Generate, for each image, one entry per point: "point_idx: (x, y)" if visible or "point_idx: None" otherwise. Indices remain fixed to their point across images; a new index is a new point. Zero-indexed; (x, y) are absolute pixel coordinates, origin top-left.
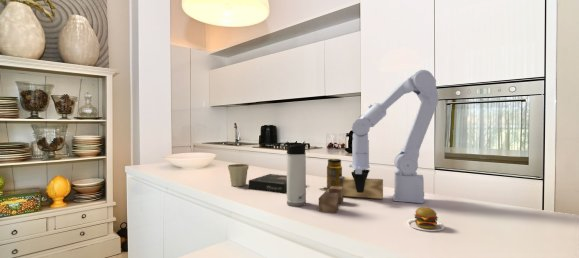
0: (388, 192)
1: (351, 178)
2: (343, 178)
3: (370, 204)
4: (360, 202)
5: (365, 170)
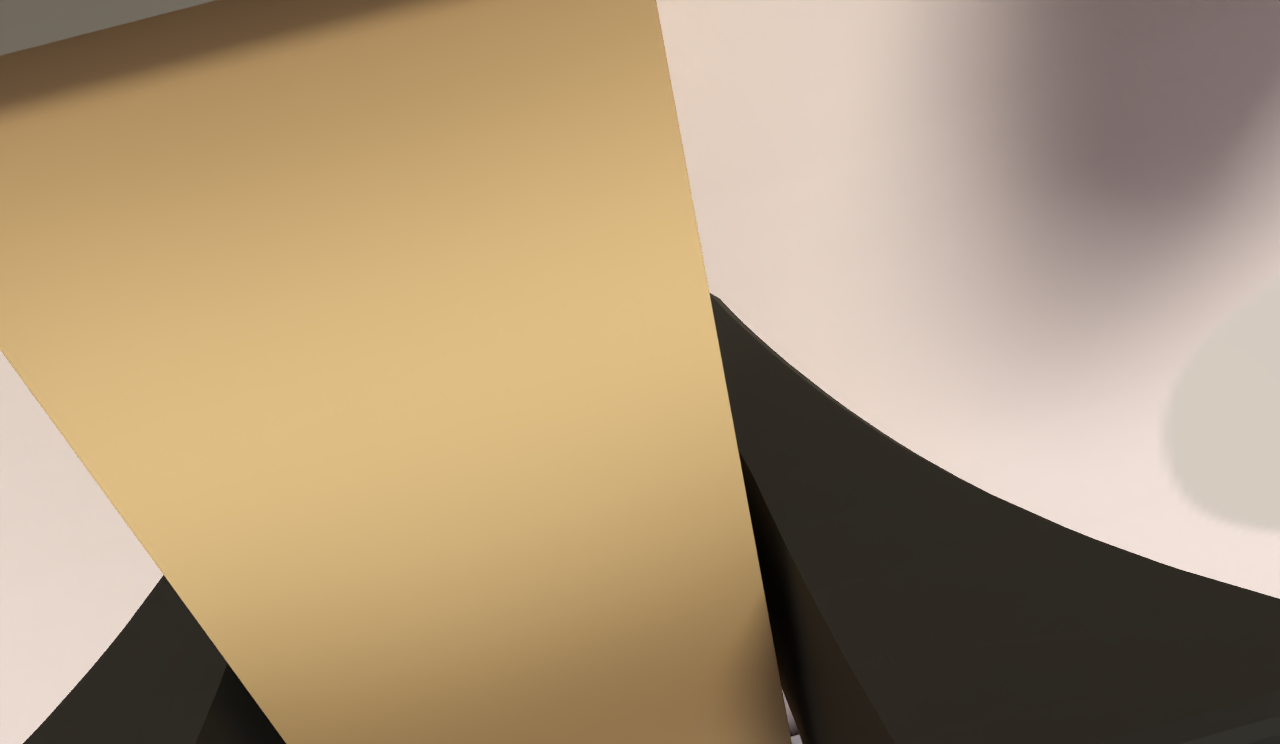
0: (1209, 549)
1: (477, 440)
2: (59, 22)
3: (59, 656)
4: (29, 472)
5: None
